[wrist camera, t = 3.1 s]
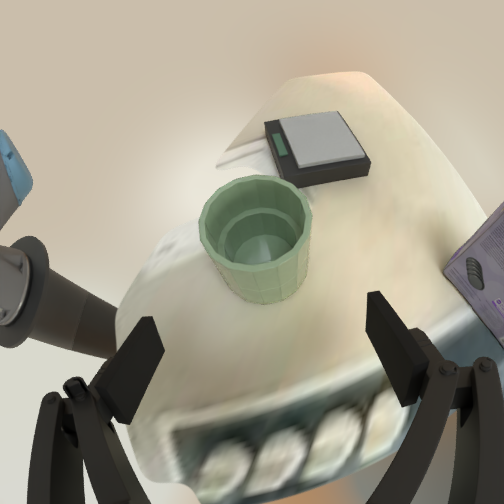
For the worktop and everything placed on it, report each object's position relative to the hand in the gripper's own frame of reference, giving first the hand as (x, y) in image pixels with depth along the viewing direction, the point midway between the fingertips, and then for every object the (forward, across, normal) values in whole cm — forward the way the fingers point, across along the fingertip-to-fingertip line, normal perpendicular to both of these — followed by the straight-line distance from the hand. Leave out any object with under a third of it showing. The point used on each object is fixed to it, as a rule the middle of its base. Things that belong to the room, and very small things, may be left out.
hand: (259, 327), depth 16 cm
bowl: (+18, 0, -3) cm, 18 cm away
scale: (+31, +10, +10) cm, 34 cm away
